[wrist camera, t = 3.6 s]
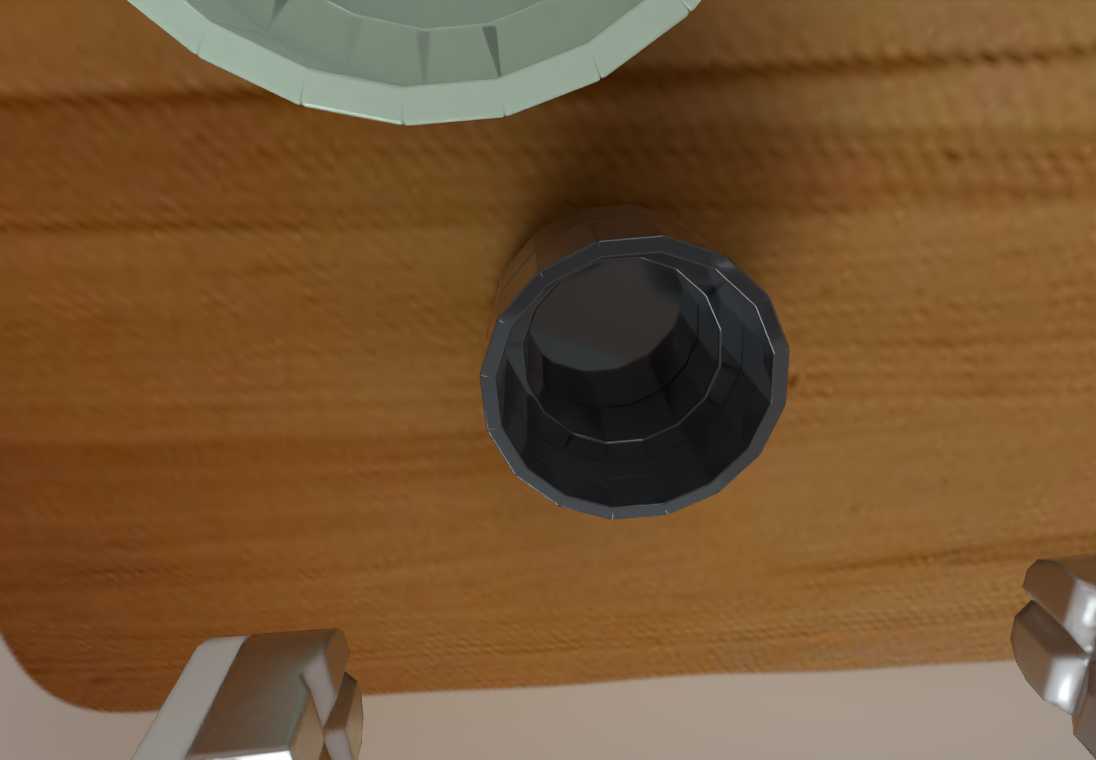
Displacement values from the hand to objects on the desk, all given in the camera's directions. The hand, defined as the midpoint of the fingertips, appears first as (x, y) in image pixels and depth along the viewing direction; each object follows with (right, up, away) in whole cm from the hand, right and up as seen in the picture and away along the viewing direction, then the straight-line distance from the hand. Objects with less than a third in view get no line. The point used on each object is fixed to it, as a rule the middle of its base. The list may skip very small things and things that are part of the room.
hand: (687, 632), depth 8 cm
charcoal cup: (0, +5, +10) cm, 11 cm away
